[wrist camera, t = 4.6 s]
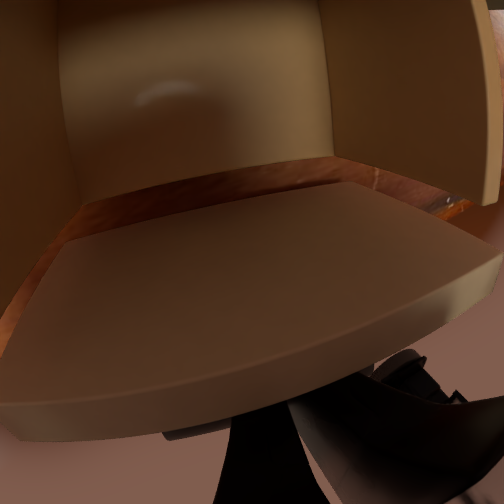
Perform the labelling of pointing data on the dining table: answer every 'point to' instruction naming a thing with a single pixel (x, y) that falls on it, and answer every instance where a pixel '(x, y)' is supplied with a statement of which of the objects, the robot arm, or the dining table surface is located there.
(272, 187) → the dining table surface
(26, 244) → the drawer
